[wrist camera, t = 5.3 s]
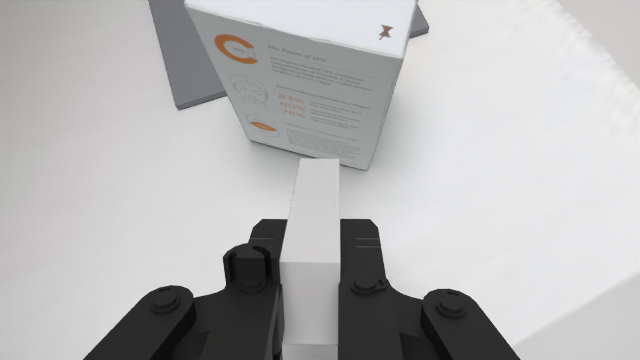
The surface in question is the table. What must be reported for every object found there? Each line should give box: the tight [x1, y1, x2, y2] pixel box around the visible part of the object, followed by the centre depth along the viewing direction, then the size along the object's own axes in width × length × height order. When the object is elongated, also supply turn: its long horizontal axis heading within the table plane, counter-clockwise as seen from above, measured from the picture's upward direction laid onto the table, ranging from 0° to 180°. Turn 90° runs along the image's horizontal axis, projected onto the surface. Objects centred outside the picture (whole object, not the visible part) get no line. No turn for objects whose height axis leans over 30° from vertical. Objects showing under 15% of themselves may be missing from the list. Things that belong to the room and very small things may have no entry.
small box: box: [184, 0, 418, 170], centre depth 22 cm, size 8×6×13 cm
